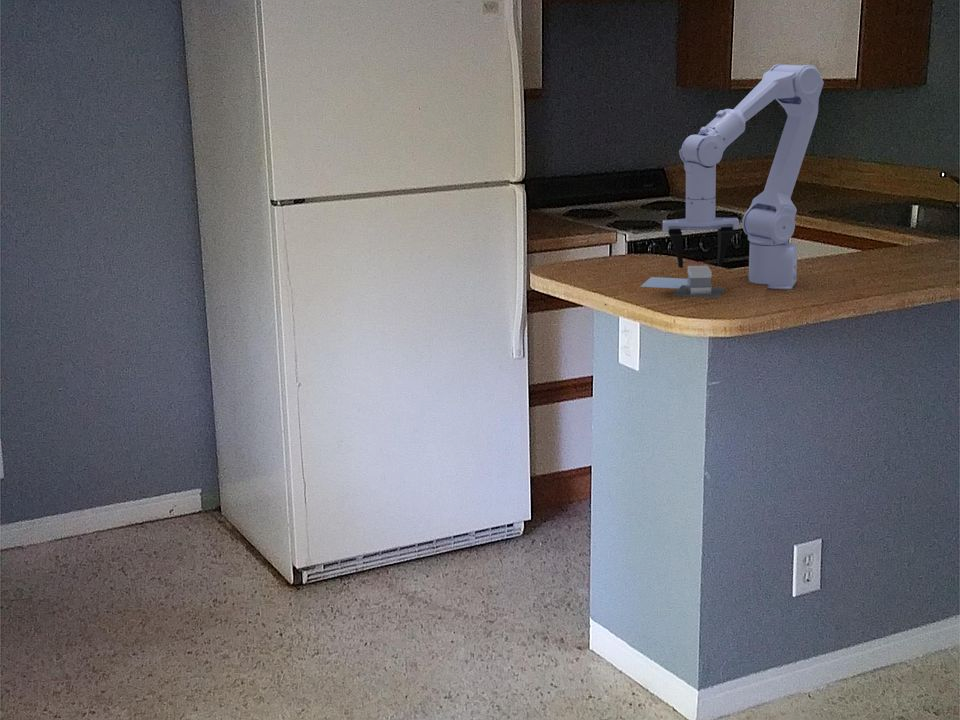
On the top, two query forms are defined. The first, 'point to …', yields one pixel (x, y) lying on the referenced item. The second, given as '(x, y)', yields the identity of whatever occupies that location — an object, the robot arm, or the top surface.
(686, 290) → the stand
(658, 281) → the stand
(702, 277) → the block
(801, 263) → the top surface
